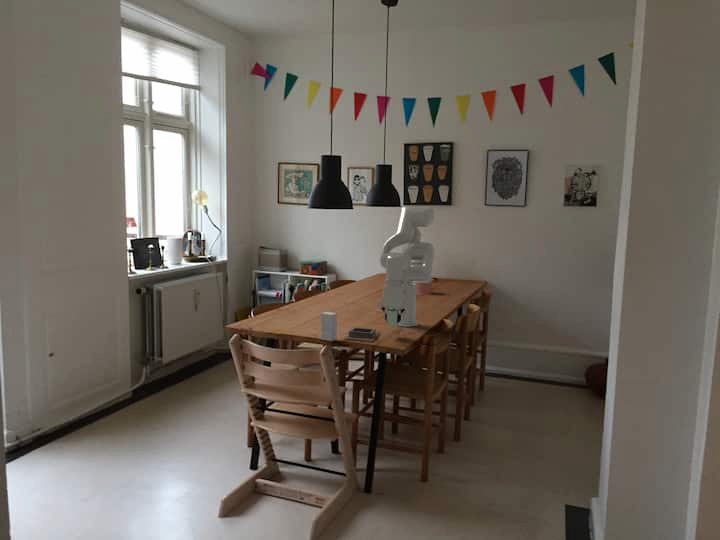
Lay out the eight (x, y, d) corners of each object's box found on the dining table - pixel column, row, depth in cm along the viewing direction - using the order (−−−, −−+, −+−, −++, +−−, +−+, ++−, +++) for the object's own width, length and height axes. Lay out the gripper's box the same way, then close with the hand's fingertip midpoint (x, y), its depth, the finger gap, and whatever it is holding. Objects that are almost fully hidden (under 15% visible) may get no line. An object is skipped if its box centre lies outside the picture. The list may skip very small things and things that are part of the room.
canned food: (434, 293, 382) (435, 275, 380) (423, 295, 374) (424, 276, 372) (422, 291, 390) (422, 273, 388) (410, 292, 382) (411, 274, 380)
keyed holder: (352, 331, 270) (352, 325, 270) (379, 333, 267) (379, 327, 267) (343, 339, 255) (344, 333, 254) (372, 342, 252) (372, 335, 251)
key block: (389, 322, 266) (389, 307, 265) (398, 323, 265) (399, 308, 264) (386, 326, 259) (386, 310, 258) (396, 327, 258) (396, 311, 257)
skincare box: (337, 339, 254) (337, 313, 253) (331, 341, 251) (331, 314, 249) (326, 337, 258) (326, 311, 256) (320, 339, 254) (320, 312, 252)
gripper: (413, 282, 260) (412, 321, 263) (377, 280, 264) (376, 318, 267) (411, 285, 253) (409, 325, 256) (374, 283, 257) (373, 322, 260)
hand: (392, 321), depth 262 cm, fingers closed on key block, 4 cm apart
